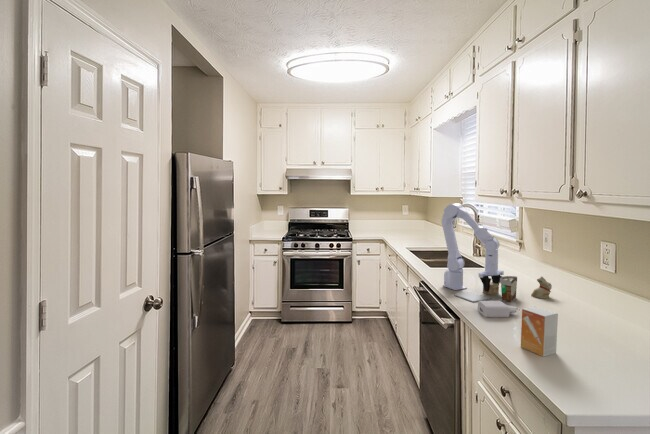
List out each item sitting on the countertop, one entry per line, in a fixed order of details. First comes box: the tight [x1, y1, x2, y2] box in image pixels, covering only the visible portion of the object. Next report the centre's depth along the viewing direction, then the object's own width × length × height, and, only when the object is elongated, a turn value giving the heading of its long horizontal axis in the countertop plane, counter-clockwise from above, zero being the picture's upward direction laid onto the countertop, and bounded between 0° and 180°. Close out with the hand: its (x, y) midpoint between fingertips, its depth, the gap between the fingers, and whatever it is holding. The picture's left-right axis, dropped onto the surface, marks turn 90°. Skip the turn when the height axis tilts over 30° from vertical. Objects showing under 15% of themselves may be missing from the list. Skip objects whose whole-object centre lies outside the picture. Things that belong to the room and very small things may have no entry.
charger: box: [477, 300, 520, 318], centre depth 154 cm, size 5×9×15 cm
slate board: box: [454, 291, 492, 303], centre depth 178 cm, size 12×11×1 cm
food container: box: [499, 275, 518, 303], centre depth 175 cm, size 12×6×10 cm, turn 141°
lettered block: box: [482, 281, 500, 296], centre depth 185 cm, size 5×5×5 cm
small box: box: [520, 305, 559, 358], centre depth 119 cm, size 8×6×13 cm
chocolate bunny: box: [530, 275, 553, 299], centre depth 178 cm, size 6×8×10 cm
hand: (490, 290), depth 185 cm, fingers closed on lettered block, 5 cm apart
